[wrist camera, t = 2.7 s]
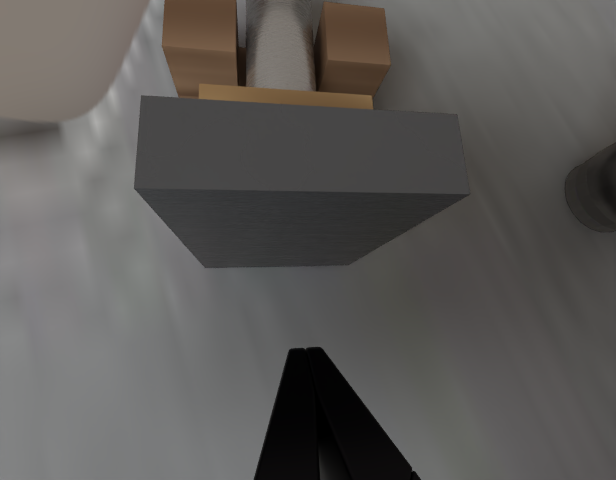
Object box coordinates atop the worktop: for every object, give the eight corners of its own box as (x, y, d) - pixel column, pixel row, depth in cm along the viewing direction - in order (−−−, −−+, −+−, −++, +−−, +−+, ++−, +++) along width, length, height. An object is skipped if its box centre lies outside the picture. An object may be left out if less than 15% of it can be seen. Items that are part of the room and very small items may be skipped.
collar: (335, 203, 17) (376, 145, 12) (216, 201, 16) (197, 138, 11) (333, 167, 18) (371, 95, 12) (216, 164, 17) (199, 83, 11)
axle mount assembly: (347, 265, 17) (470, 193, 8) (205, 268, 16) (134, 188, 6) (331, 42, 20) (404, -212, 11) (210, 30, 19) (169, -266, 9)
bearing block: (356, 128, 19) (390, 65, 15) (186, 119, 18) (161, 45, 13) (352, 83, 20) (384, 8, 15) (188, 71, 19) (165, -17, 14)
